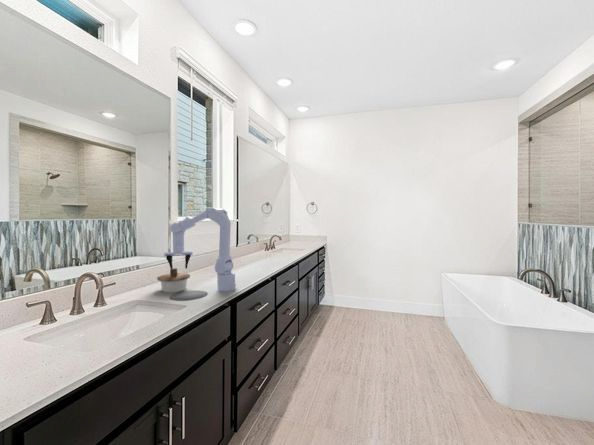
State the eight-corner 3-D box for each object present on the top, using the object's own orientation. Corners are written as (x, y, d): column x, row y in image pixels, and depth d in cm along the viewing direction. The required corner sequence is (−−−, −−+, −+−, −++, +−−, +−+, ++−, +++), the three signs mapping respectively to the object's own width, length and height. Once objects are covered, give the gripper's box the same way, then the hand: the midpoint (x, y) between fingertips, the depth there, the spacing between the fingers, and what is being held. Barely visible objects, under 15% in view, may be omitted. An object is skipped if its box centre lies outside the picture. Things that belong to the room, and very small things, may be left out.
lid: (191, 274, 161) (191, 265, 161) (188, 280, 146) (187, 270, 146) (160, 275, 157) (160, 267, 157) (153, 282, 142) (153, 272, 142)
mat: (209, 290, 151) (208, 289, 151) (206, 300, 134) (206, 299, 134) (172, 292, 147) (172, 291, 147) (165, 303, 129) (165, 302, 129)
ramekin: (181, 294, 145) (180, 280, 145) (155, 294, 145) (155, 280, 145) (191, 287, 158) (191, 275, 158) (167, 287, 159) (167, 275, 159)
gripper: (162, 245, 153) (163, 270, 153) (191, 244, 156) (191, 269, 157) (165, 244, 160) (166, 268, 160) (192, 243, 163) (193, 267, 163)
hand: (178, 268), depth 159 cm, fingers open, 7 cm apart
